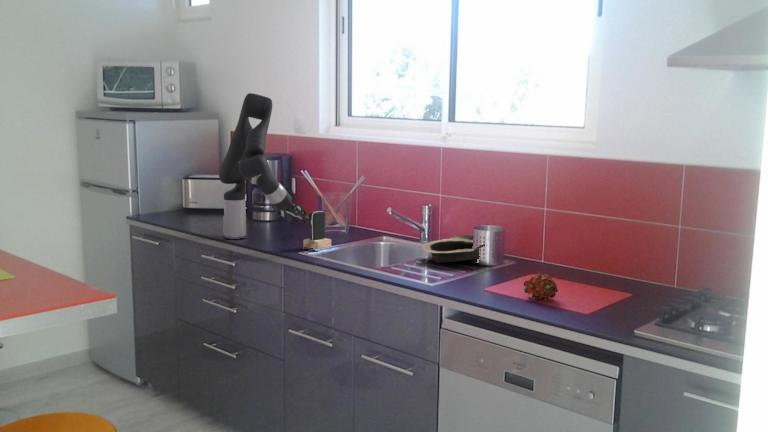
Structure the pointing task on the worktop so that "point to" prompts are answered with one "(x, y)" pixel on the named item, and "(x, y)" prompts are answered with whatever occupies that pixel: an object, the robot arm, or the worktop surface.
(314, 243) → the oak slab
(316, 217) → the battery
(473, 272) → the worktop surface
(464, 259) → the stone bowl
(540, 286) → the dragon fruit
